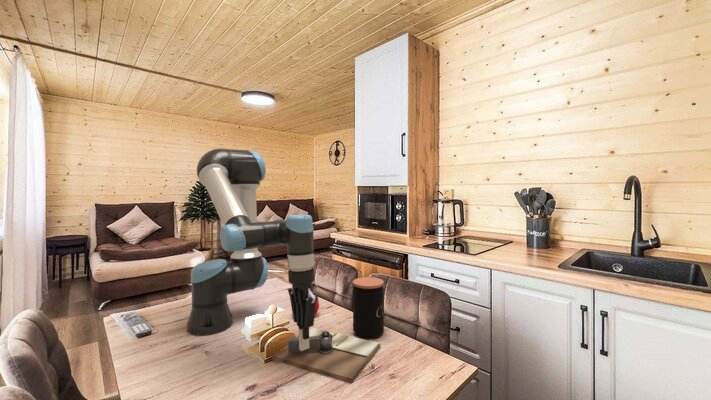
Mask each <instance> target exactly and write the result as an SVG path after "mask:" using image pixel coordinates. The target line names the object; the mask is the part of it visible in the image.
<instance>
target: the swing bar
mask: <svg viewBox="0 0 711 400" xmlns="http://www.w3.org/2000/svg"><path fill="white" fill-rule="evenodd" d="M329 332H330V331H328V330H324V332H322V334H320V335H319V336H310V337H309V348H308V349H305V350H303V351H308V350H318V349H320V350H322V351H328V350H331V349H332V334H329ZM287 342H288V343H287V345H288V352H298V351H301V350H299V338H298V337H289V338H288V339H287Z"/></svg>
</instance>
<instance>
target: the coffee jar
mask: <svg viewBox="0 0 711 400" xmlns="http://www.w3.org/2000/svg"><path fill="white" fill-rule="evenodd" d="M384 283H385V282H384V280H383V279H382V278H378V277H374V276H373V277H372V276H366V277H365V276H364V277H358V278H355V279H354V280H352V285H353V288H352V314H353V315H352V327H353V328H352V330H353V333H354V334H355V336H356V337H357V338H360V339H364V340H375V339H377V338H380V337H381V336H382V334H383V333H384V331H385V290H384V287H383V286H384V285H385V284H384Z"/></svg>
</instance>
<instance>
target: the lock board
mask: <svg viewBox="0 0 711 400" xmlns="http://www.w3.org/2000/svg"><path fill="white" fill-rule="evenodd" d="M324 331H325V330H323V329H319V328H314V327H309V337H310V336H319V335H320V334H322V332H324ZM328 332H329V334H332V349H331V350H328V351H322V350H320V349H318V350H308V351H298V352H288V348H287V349H284V350H282V351H279V350H278V351H279V352H278V351H277V352H275V353H273V354H272V355H271V360H272V361H274V362H275V361H276V362H278V363H281V364H285V365H289V366H291V367H296V368H299V369H303V370H306V371H309V372H312V373H315V374H319V375H321V376H326V377H329V378H333V379H335V380H339V381H342V382H346V383H349V384H352V383H353V382H354V381H355V380H356V378H358V376H359V375H360V373H362V371H363V370H364V368H365V367H366V366H367V365H368V363H369V362H370V361H371V360H372V359H373V357H374V356H375V355H376V353H378V351H379V350H380V349H381V344H380V343H379V342H377V341H373V340H369V339H364V338H360V337H355V336H351V335H345V334H341V333H336V332H333V331H328ZM297 338H299V336H298V337H297Z"/></svg>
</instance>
